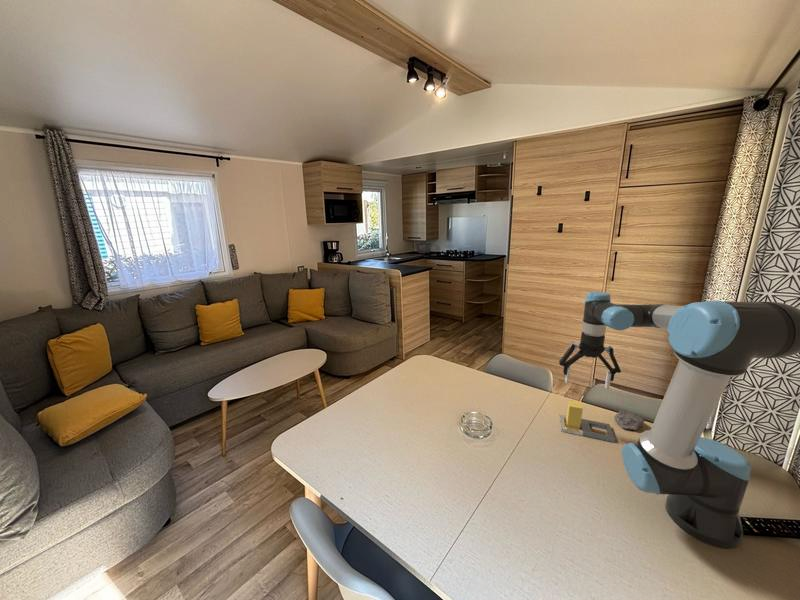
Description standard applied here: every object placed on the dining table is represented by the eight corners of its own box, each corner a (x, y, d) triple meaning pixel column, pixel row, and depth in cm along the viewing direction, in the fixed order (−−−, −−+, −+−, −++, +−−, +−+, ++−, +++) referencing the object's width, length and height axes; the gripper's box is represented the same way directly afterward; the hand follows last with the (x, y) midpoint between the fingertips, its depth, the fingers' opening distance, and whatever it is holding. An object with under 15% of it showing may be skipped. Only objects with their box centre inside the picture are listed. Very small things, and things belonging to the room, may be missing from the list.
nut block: (579, 431, 123) (582, 408, 120) (566, 428, 124) (569, 406, 122) (578, 424, 127) (581, 402, 124) (565, 421, 128) (568, 400, 126)
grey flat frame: (614, 442, 116) (615, 439, 116) (560, 431, 123) (561, 428, 122) (609, 426, 125) (609, 424, 125) (559, 416, 132) (559, 414, 131)
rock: (645, 424, 126) (646, 415, 125) (633, 435, 120) (635, 425, 119) (620, 414, 133) (621, 405, 132) (608, 423, 127) (609, 414, 126)
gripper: (630, 333, 115) (621, 385, 120) (555, 326, 124) (550, 375, 128) (636, 340, 108) (627, 395, 113) (557, 332, 117) (551, 384, 122)
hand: (586, 385), depth 121 cm, fingers open, 13 cm apart
